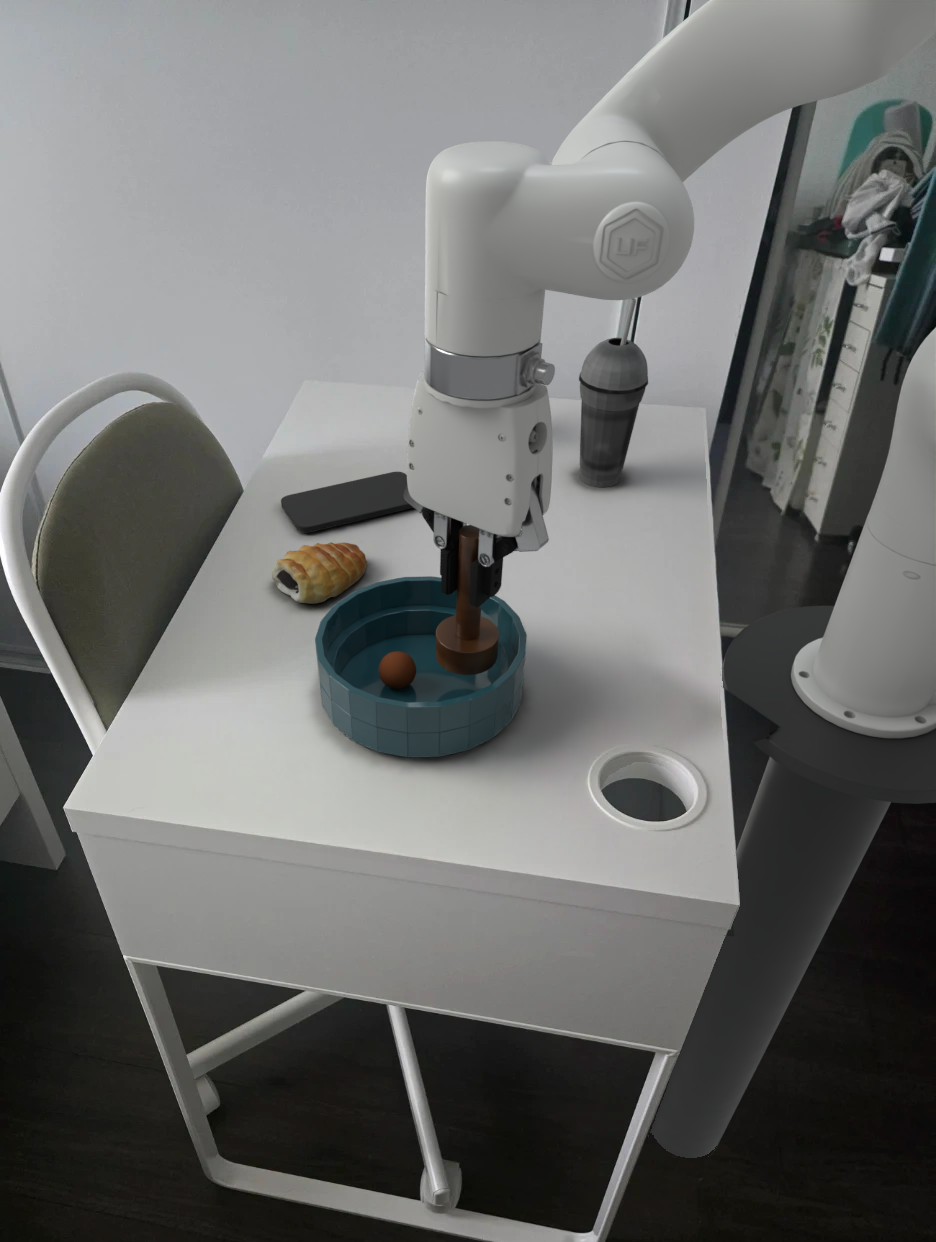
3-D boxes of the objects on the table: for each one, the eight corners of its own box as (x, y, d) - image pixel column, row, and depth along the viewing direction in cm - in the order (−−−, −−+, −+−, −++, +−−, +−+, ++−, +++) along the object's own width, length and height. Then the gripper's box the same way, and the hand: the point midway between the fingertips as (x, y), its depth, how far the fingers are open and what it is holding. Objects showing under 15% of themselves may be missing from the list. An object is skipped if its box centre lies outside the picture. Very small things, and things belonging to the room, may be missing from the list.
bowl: (524, 636, 86) (529, 582, 82) (516, 772, 74) (522, 716, 70) (340, 623, 88) (336, 570, 84) (302, 754, 76) (295, 698, 72)
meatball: (418, 673, 82) (418, 645, 80) (413, 698, 80) (413, 669, 77) (382, 671, 82) (380, 642, 80) (376, 695, 80) (375, 666, 78)
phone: (429, 499, 103) (299, 529, 99) (429, 505, 104) (300, 536, 99) (402, 469, 108) (277, 496, 104) (402, 476, 109) (278, 503, 104)
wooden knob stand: (499, 638, 81) (508, 515, 72) (495, 677, 77) (505, 552, 69) (438, 634, 81) (441, 511, 73) (432, 672, 77) (434, 548, 69)
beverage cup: (600, 455, 111) (625, 278, 97) (645, 480, 107) (678, 298, 93) (554, 474, 108) (572, 293, 95) (598, 500, 104) (624, 314, 90)
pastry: (341, 549, 98) (339, 517, 95) (383, 577, 94) (382, 545, 91) (267, 584, 93) (262, 552, 91) (307, 615, 89) (304, 582, 87)
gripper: (616, 373, 61) (581, 605, 73) (418, 319, 68) (417, 539, 80) (556, 415, 56) (530, 654, 69) (352, 353, 63) (362, 579, 76)
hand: (469, 590), depth 75 cm, fingers closed on wooden knob stand
